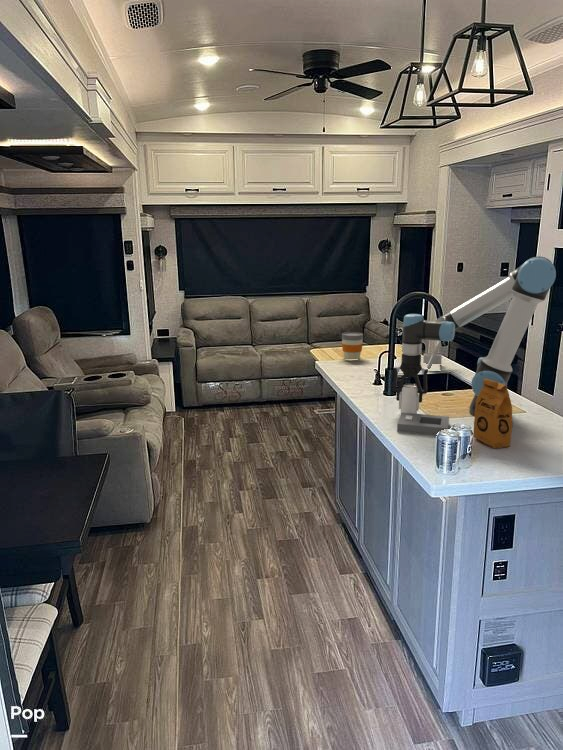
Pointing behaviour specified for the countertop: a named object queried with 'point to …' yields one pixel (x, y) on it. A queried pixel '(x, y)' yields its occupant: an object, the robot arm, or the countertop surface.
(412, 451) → the countertop surface
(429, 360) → the phone holder
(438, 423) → the socket plate
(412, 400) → the can
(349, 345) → the reusable coffee cup
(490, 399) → the coffee package
